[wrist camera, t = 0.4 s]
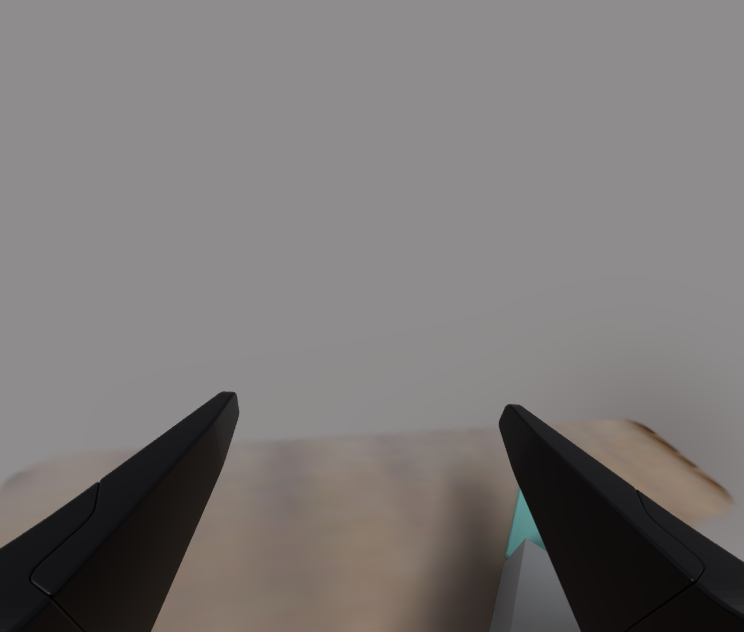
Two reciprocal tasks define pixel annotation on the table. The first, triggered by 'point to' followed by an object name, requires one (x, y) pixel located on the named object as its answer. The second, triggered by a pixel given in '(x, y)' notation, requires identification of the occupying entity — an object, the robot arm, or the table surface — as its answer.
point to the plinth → (531, 595)
